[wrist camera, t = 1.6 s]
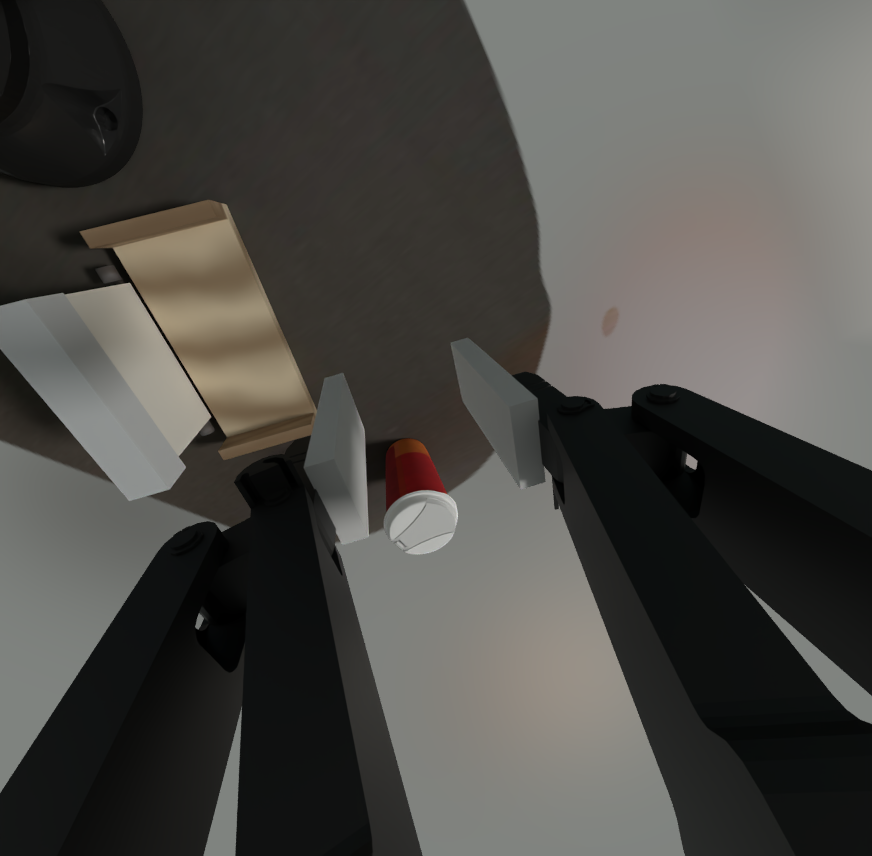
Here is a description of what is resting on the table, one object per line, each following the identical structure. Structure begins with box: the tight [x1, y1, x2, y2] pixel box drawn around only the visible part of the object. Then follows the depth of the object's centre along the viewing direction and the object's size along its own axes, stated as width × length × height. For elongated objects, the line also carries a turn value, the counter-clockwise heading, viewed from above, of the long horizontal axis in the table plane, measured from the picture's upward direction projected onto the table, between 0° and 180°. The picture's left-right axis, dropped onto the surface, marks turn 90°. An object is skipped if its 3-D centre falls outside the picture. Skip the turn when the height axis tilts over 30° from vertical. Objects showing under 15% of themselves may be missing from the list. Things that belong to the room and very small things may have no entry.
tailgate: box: [0, 283, 211, 501], centre depth 30 cm, size 14×3×14 cm, turn 13°
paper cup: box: [384, 438, 458, 554], centre depth 42 cm, size 8×8×14 cm
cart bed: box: [80, 200, 317, 460], centre depth 35 cm, size 22×12×4 cm, turn 13°
